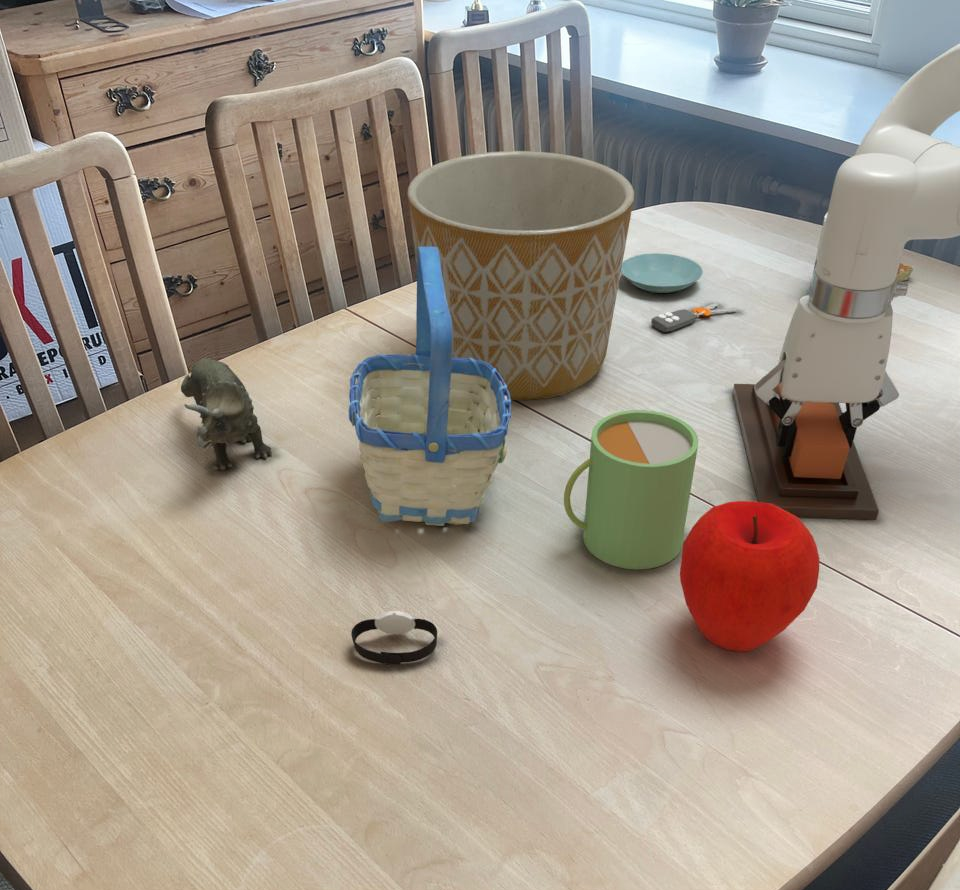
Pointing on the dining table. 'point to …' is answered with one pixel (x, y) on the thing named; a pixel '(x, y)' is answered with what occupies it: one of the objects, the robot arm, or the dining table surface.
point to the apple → (747, 573)
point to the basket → (429, 418)
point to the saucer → (661, 272)
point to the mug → (636, 488)
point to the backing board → (776, 474)
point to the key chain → (683, 317)
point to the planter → (526, 261)
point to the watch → (394, 625)
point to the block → (819, 443)
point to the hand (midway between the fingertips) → (811, 450)
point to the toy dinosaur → (222, 410)
